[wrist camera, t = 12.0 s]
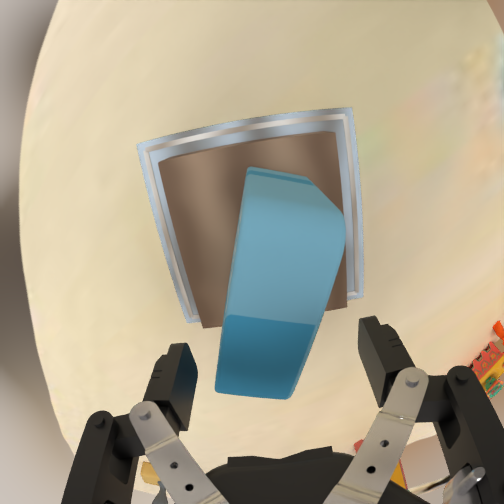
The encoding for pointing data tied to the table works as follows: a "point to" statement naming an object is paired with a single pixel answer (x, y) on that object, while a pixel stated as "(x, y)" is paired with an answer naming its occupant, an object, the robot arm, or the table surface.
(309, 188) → the data package
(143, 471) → the rubber stamp
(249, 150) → the base
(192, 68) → the table surface
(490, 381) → the toy building block set
